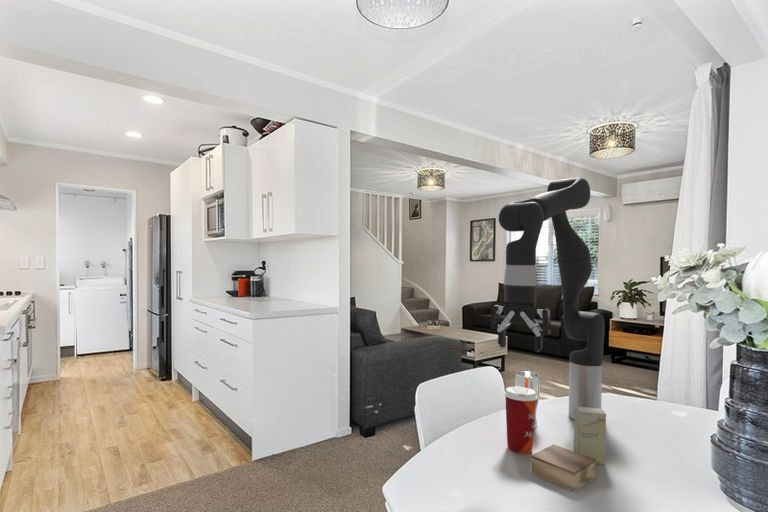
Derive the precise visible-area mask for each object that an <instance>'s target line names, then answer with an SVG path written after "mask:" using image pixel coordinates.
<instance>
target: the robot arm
mask: <svg viewBox="0 0 768 512" xmlns="http://www.w3.org/2000/svg"><path fill="white" fill-rule="evenodd" d="M546 191H547V192H543V193H539V194H536V195H534V196H531V197H529V198H528V199H524V200H518V201H513V202H510V203H507V204H505V205H504V206H503V207H502V208H501V209H500V211H499V213H498V223H499V225H500V227H501V228H502V229H504V230H505V231H506V232H522V235H521V237H520V238H519V239H516V240H512V241H510V242H508V243H507V244H506V245H505V247H506V248H505V269H504V279H503V281H504V282H503V283H504V293H503V294H504V297H503V298H504V304H503V306H502V305H499V304H494V305H492V306H491V313H490V315H491V316H490V326H489V327H490V329H491V330H495V331H497V341H498V342H497V343H498V345H499V348H503V349H505V348H506V346H507V332H506V330H507V328H509V326H511V324H512V325H515V326H516V325H519V326H524V327H525V326H528V328H529V329H530V330H531V331H532V332H533V333H534V335H535V336H534V352H535V353H540V352H541V350H542V349H543V347H544V346H543V345H544V343H543V342H544V336H548V335H549V334H551V333H552V322H551V321H552V320H551V309H550V308H545V309H541V308H540V309H539V308H538V307H537V279H538V278H537V277H538V276H537V267H536V265H537V264H536V261H537V259H536V257H537V255H536V250H537V245H538V241H539V238H540V234H541V230H542V227H543V225H544V222H545V221H547V220H548V219H550V218H551V221H552V227H553V231H554V238H555V245H556V246H555V247H556V254H557V263H558V270H559V276H560V283H561V293H562V305H563V307H562V308H563V309H562V310H563V311H562V312H563V326H564V332H565V334H566V336H567V337H568V338H569V339H571V340H576V341H582V342H586V343H587V344H586V347H585V348H584V349H580V350H574V351H571V352H570V353H569V365H568V366H569V367H568V368H569V371H568V372H569V382H568V417H569V418H570V419H572V420H574V421H575V406H578V407H590V408H600V409H602V396H603V393H602V392H603V391H602V387H603V386H602V385H603V384H602V383H603V380H602V378H603V357H604V347H605V346H604V345H605V344H604V343H605V334H606V333H605V331H606V329H605V328H606V326H605V325H606V324H605V323H606V322H605V319H604V317H603V315H602V314H601V313H599V312H592V311H581V310H580V309H579V299H580V295H581V293H582V291H583V289H585V286H586V285H587V283H588V281H589V279H590V277H591V275H592V272H593V271H592V270H593V267H592V259H591V252H590V249H589V247H588V245H587V244H586V242H585V241H584V240H583V239H582V238H581V237H580V235H579V234H578V233H577V232H576V231H575V229H574V228H573V226H572V225H571V223H570V221H569V218H568V216H567V211H569V210H578V209H582V208H584V207H586V206H587V205H588V204H589V202H590V199H591V187H590V184H589V182H588V181H587V179H586V178H583V177H570V178H565V179H564V178H562V179H557V180H556V179H555V180H552V181H550V182H549V183H548V185H547V190H546ZM502 312H503V314H504V315H505V318H504V319H503V320H502V321H501V322H500V314H502ZM537 315H539V317H540V319H542V328H541V327H540V324H539V323H538V321H537V320H536V317H537ZM499 322H500V323H501V324H500V323H499Z"/></svg>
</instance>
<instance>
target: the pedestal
mask: <svg viewBox="0 0 768 512" xmlns="http://www.w3.org/2000/svg"><path fill="white" fill-rule="evenodd" d="M596 466H597V465H596V459H593V458H590V457H588V456H585V455H582V454H579V453H577V452H574V450H570V449H568V448H565V447H562V446H561V445H560V446H559V445H558V444H554V443H552V444H551V445H549V446H547V447H545V448H544V449H541V450H539V451H537V452H535V453H533V454H531V456H530V474H532V475H535V476H536V477H539V478H541V479H544V480H545V481H548V482H550V483H553V484H555V485H558V486H559V487H562V488H564V489H567V490H569V491H571V492H574V493H575V492H576V491H577V490H580V489H581V488H582V487H584V486H585V485H586V484H588V483H589V482H591V481H592V480H594V479H595V478H596V471H597V470H596V468H597V467H596Z"/></svg>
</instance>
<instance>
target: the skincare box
mask: <svg viewBox="0 0 768 512" xmlns="http://www.w3.org/2000/svg"><path fill="white" fill-rule="evenodd" d="M606 424H607V413H606V412H605V411H604V410H603V409H602V408H601V409H600V408H590V407H578V406H575V420H574V433H573V451H574V452H577V453H579V454H582V455H585V456H588V457H590V458H593V459H596V464H597V465H605V464H606V433H607V432H606V431H607V429H606V427H607V425H606Z"/></svg>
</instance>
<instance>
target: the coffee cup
mask: <svg viewBox="0 0 768 512" xmlns="http://www.w3.org/2000/svg"><path fill="white" fill-rule="evenodd" d="M503 395H504V397H505V415H506V416H505V417H506V419H505V420H506V423H505V424H506V441H507V442H506V443H507V448H508V450H509V451H510V452H513V453H516V454H521V455H526V454H527V455H528V454H530V453H532V452H533V443H534V431H535V428H534V420H535V407H536V399H537V398H538V397H537V396H536V392H535V391H534V390H532V389H529V388H525V387H515V386H508V387H506V388H505V391H504V393H503Z"/></svg>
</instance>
